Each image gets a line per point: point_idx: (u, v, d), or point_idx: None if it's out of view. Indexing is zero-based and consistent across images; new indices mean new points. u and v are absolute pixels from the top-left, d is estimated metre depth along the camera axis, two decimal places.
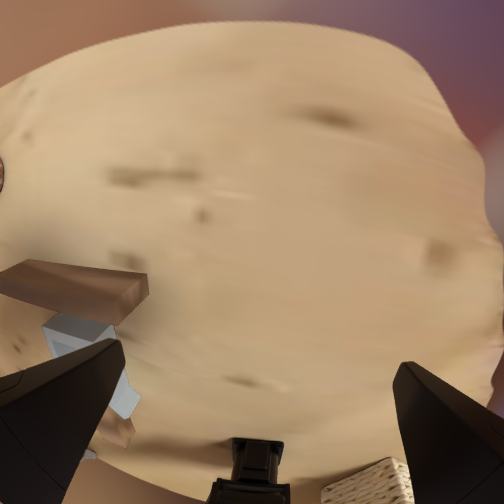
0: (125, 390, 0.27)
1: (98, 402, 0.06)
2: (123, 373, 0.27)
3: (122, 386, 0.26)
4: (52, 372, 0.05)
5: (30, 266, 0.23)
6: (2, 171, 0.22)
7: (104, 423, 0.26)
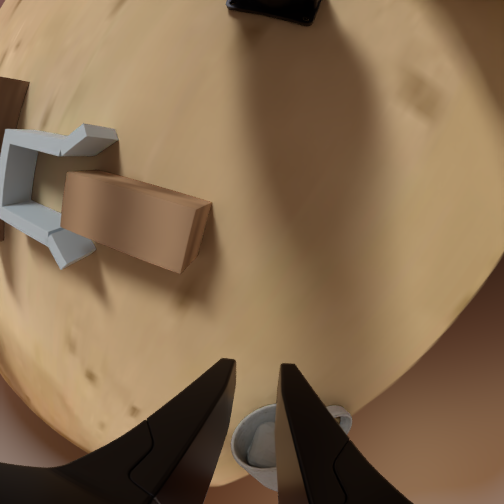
0: None
1: (222, 433, 0.06)
2: None
3: None
4: (190, 415, 0.05)
5: None
6: None
7: (111, 211, 0.15)
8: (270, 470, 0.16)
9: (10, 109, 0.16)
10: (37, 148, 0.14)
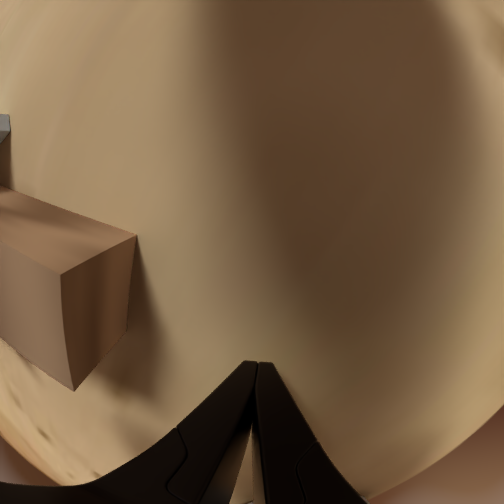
0: None
1: (246, 436, 0.06)
2: None
3: None
4: (221, 421, 0.05)
5: None
6: None
7: None
8: None
9: None
10: None
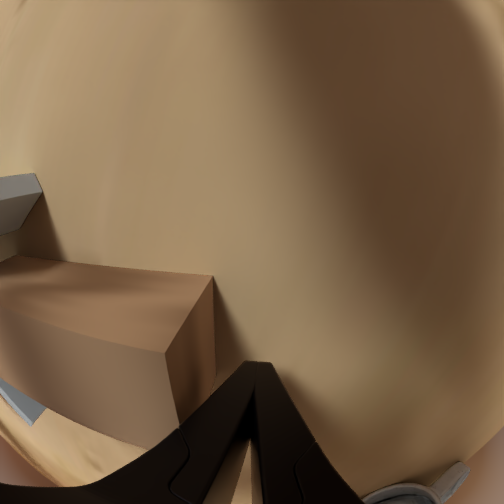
0: None
1: (248, 436, 0.06)
2: None
3: None
4: (223, 421, 0.05)
5: None
6: None
7: (19, 354, 0.06)
8: None
9: None
10: None
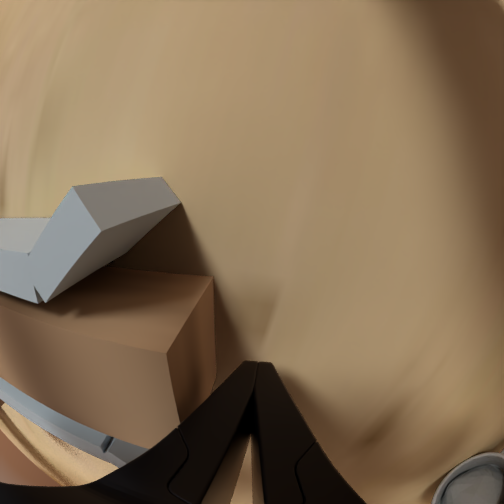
0: None
1: (247, 436, 0.06)
2: None
3: None
4: (222, 421, 0.05)
5: None
6: None
7: (20, 354, 0.06)
8: None
9: None
10: None
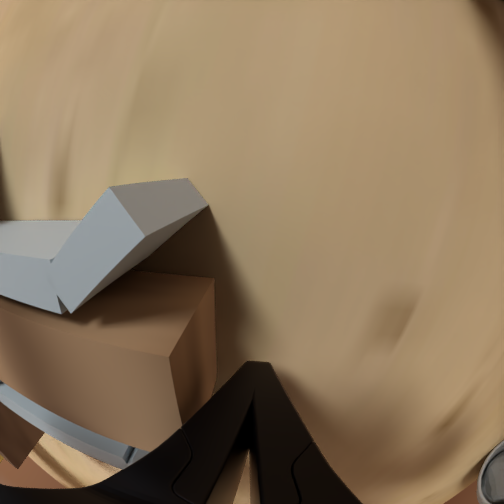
0: None
1: (250, 437, 0.06)
2: (77, 222, 0.08)
3: None
4: (225, 421, 0.05)
5: None
6: None
7: (20, 357, 0.05)
8: None
9: None
10: None
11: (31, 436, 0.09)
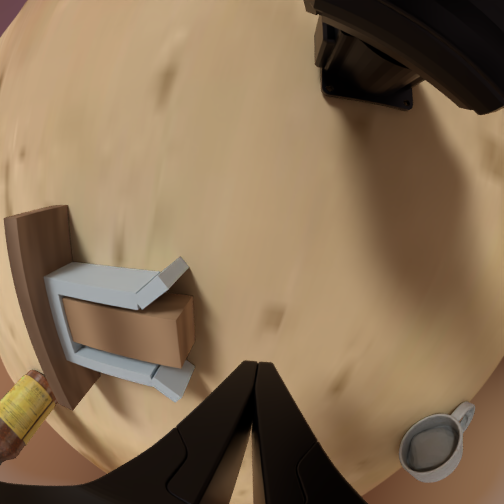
0: (153, 276, 0.19)
1: (246, 436, 0.06)
2: (131, 270, 0.19)
3: (140, 277, 0.18)
4: (221, 421, 0.05)
5: None
6: (35, 371, 0.26)
7: (109, 328, 0.17)
8: (440, 468, 0.15)
9: (58, 246, 0.18)
10: (102, 301, 0.16)
11: (83, 388, 0.21)
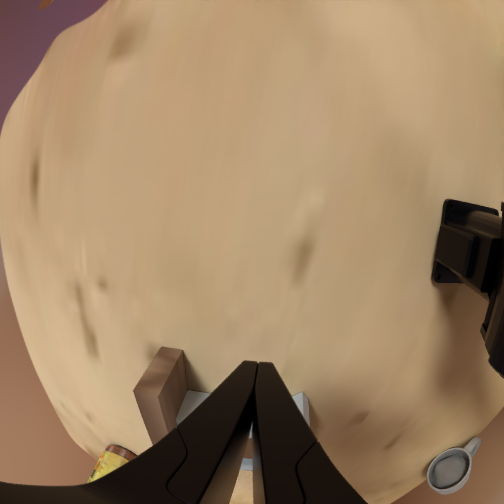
0: None
1: (246, 436, 0.06)
2: None
3: None
4: (221, 421, 0.05)
5: None
6: (117, 446, 0.29)
7: None
8: (456, 486, 0.18)
9: (180, 387, 0.22)
10: None
11: None
